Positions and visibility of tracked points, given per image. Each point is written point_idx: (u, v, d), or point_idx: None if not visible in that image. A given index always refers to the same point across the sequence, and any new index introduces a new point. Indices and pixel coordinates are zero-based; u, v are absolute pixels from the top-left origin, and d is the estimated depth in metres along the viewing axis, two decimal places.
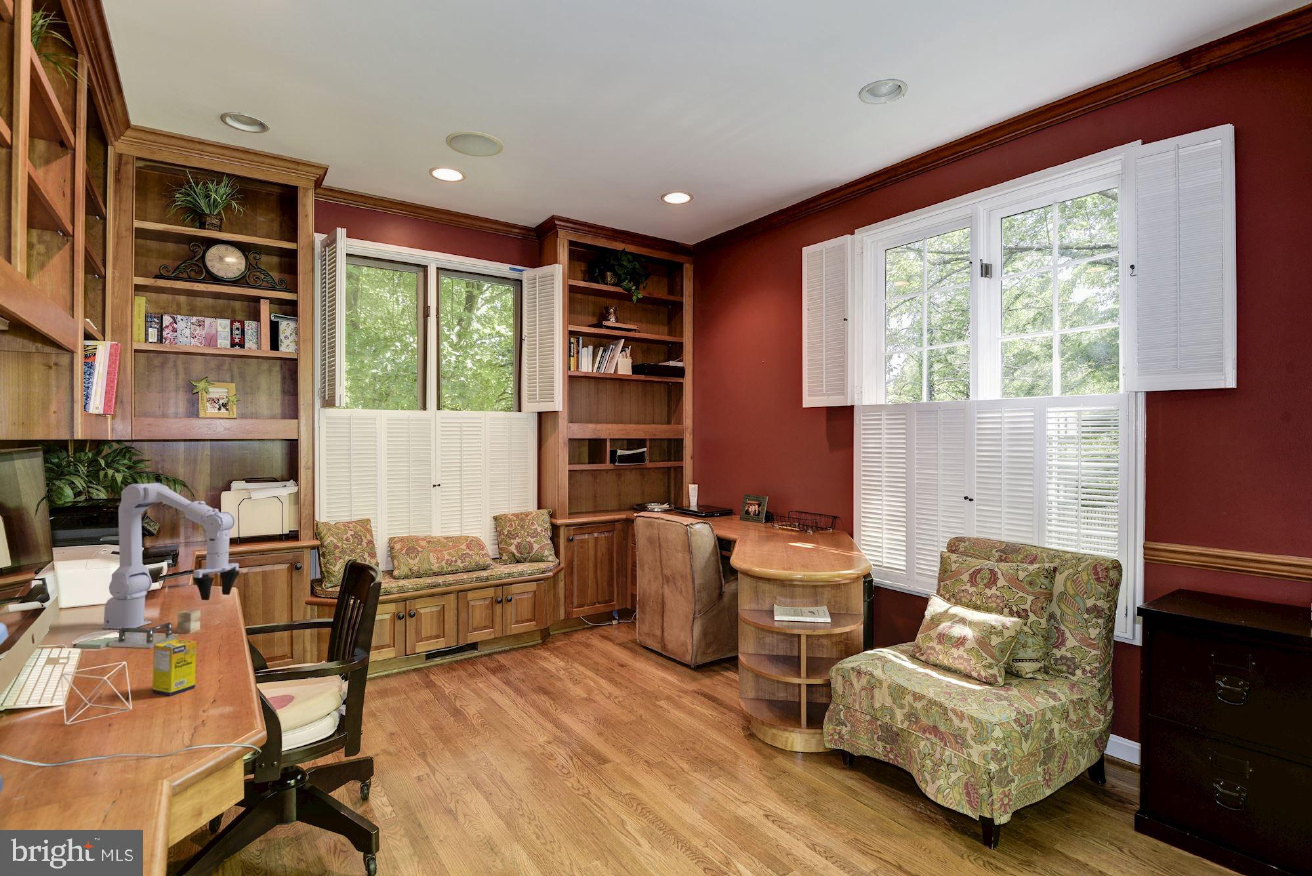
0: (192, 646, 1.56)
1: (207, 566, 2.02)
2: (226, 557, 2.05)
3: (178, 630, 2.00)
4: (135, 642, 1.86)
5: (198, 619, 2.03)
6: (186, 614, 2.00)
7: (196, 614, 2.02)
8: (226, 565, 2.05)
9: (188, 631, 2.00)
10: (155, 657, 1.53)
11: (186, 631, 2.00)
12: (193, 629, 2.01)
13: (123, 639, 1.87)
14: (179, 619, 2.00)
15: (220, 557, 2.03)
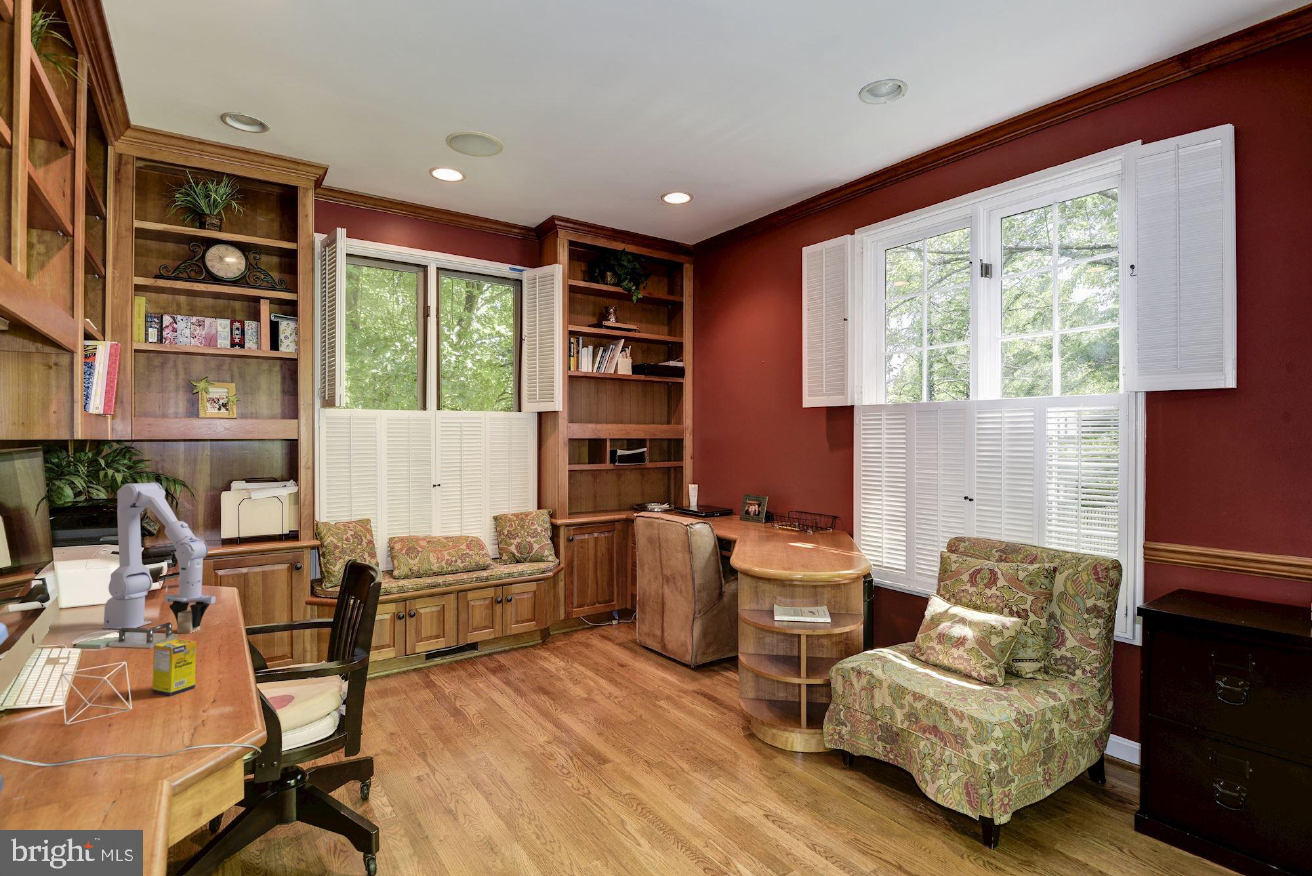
0: (192, 646, 1.56)
1: None
2: (184, 588, 2.00)
3: (178, 630, 2.00)
4: (135, 642, 1.86)
5: None
6: (186, 614, 2.00)
7: None
8: (185, 596, 2.00)
9: (188, 631, 2.00)
10: (155, 657, 1.53)
11: (186, 631, 2.00)
12: (193, 629, 2.01)
13: (123, 639, 1.87)
14: (179, 619, 2.00)
15: (179, 586, 2.00)
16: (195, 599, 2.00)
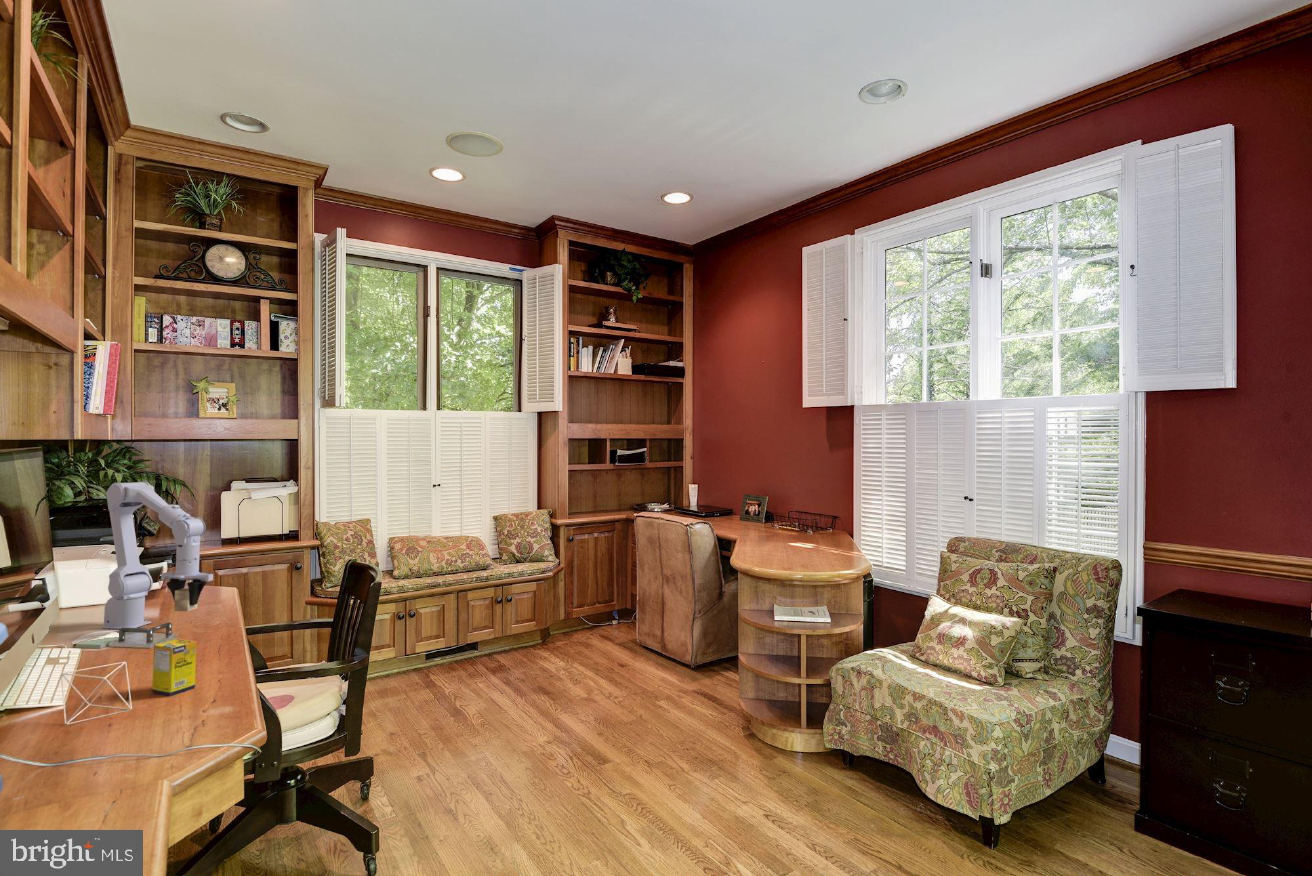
0: (192, 646, 1.56)
1: None
2: (182, 565, 1.98)
3: (175, 608, 1.99)
4: (135, 642, 1.86)
5: None
6: (183, 592, 1.99)
7: None
8: (182, 573, 1.98)
9: (185, 609, 1.99)
10: (155, 657, 1.53)
11: (183, 609, 1.99)
12: (190, 607, 2.00)
13: (123, 639, 1.87)
14: (176, 597, 1.99)
15: (177, 563, 1.99)
16: (192, 576, 1.99)
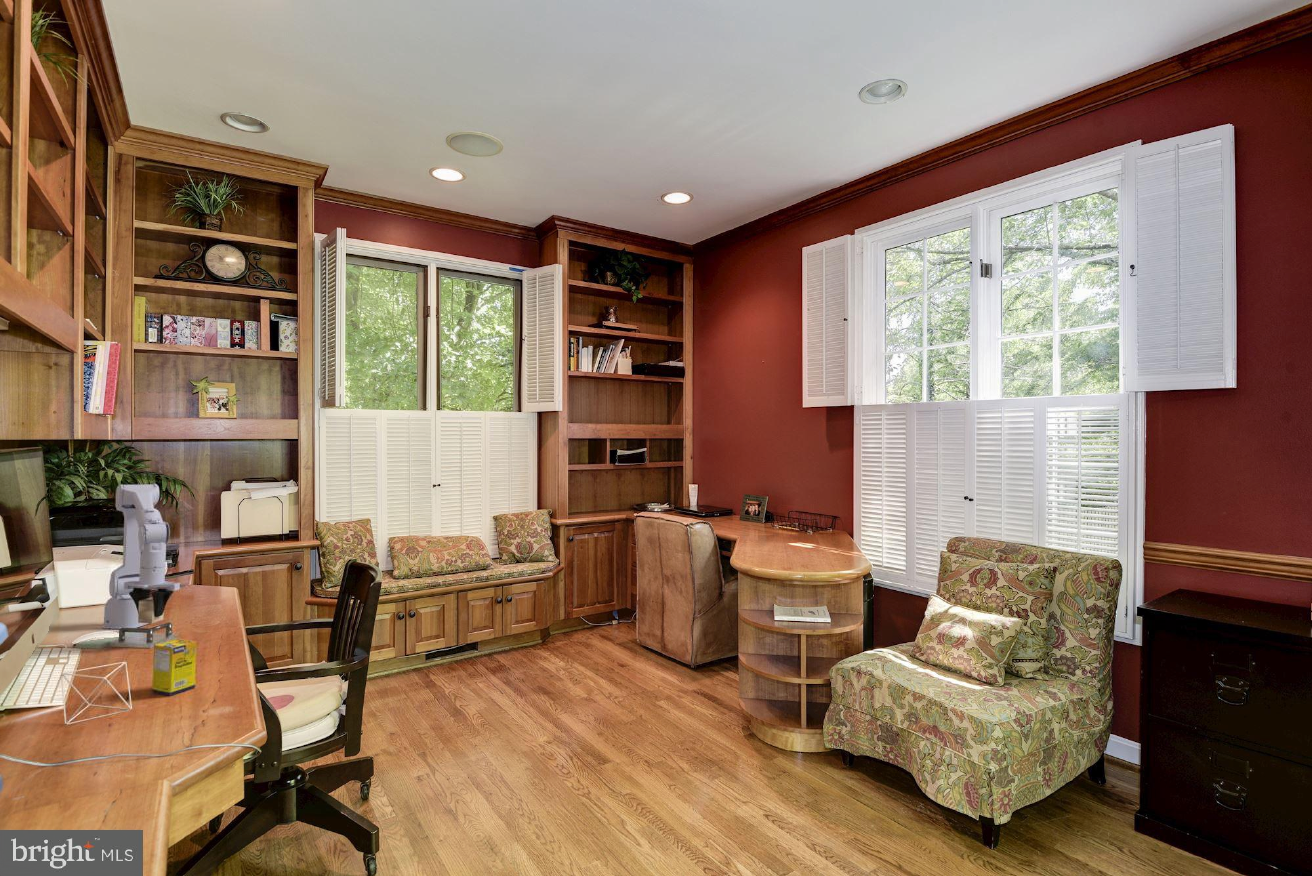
0: (192, 646, 1.56)
1: None
2: (145, 573, 1.85)
3: (139, 619, 1.85)
4: (135, 642, 1.86)
5: None
6: (148, 602, 1.85)
7: None
8: (146, 582, 1.85)
9: (150, 620, 1.85)
10: (155, 657, 1.53)
11: (147, 620, 1.85)
12: (155, 618, 1.87)
13: (123, 639, 1.87)
14: (140, 608, 1.85)
15: (140, 572, 1.85)
16: (157, 586, 1.85)
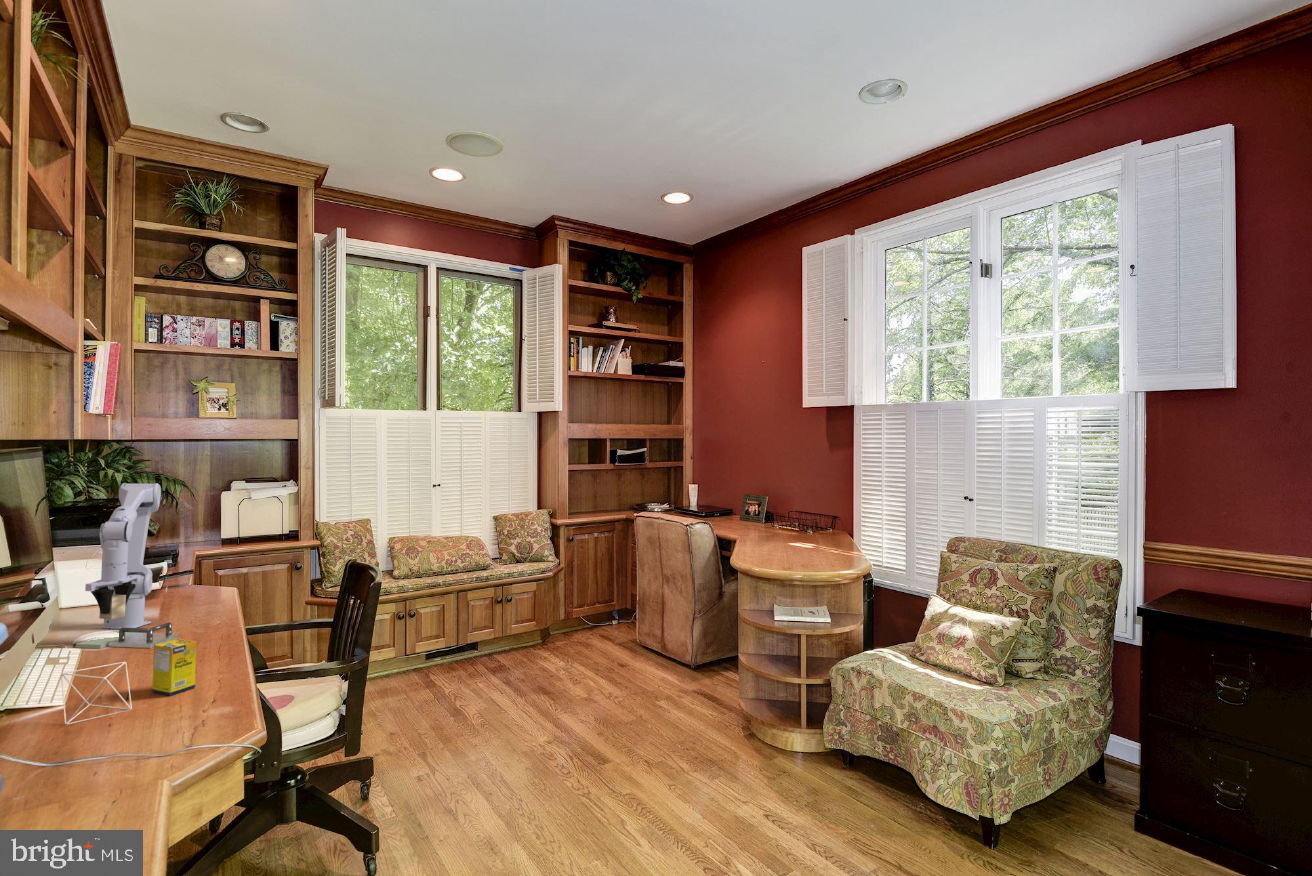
0: (192, 646, 1.56)
1: (102, 578, 1.88)
2: (124, 568, 1.90)
3: (112, 616, 1.88)
4: (135, 642, 1.86)
5: None
6: (121, 597, 1.91)
7: None
8: (124, 577, 1.91)
9: (122, 614, 1.91)
10: (155, 657, 1.53)
11: (120, 615, 1.91)
12: None
13: (123, 639, 1.87)
14: (113, 604, 1.89)
15: (117, 568, 1.89)
16: (130, 579, 1.93)
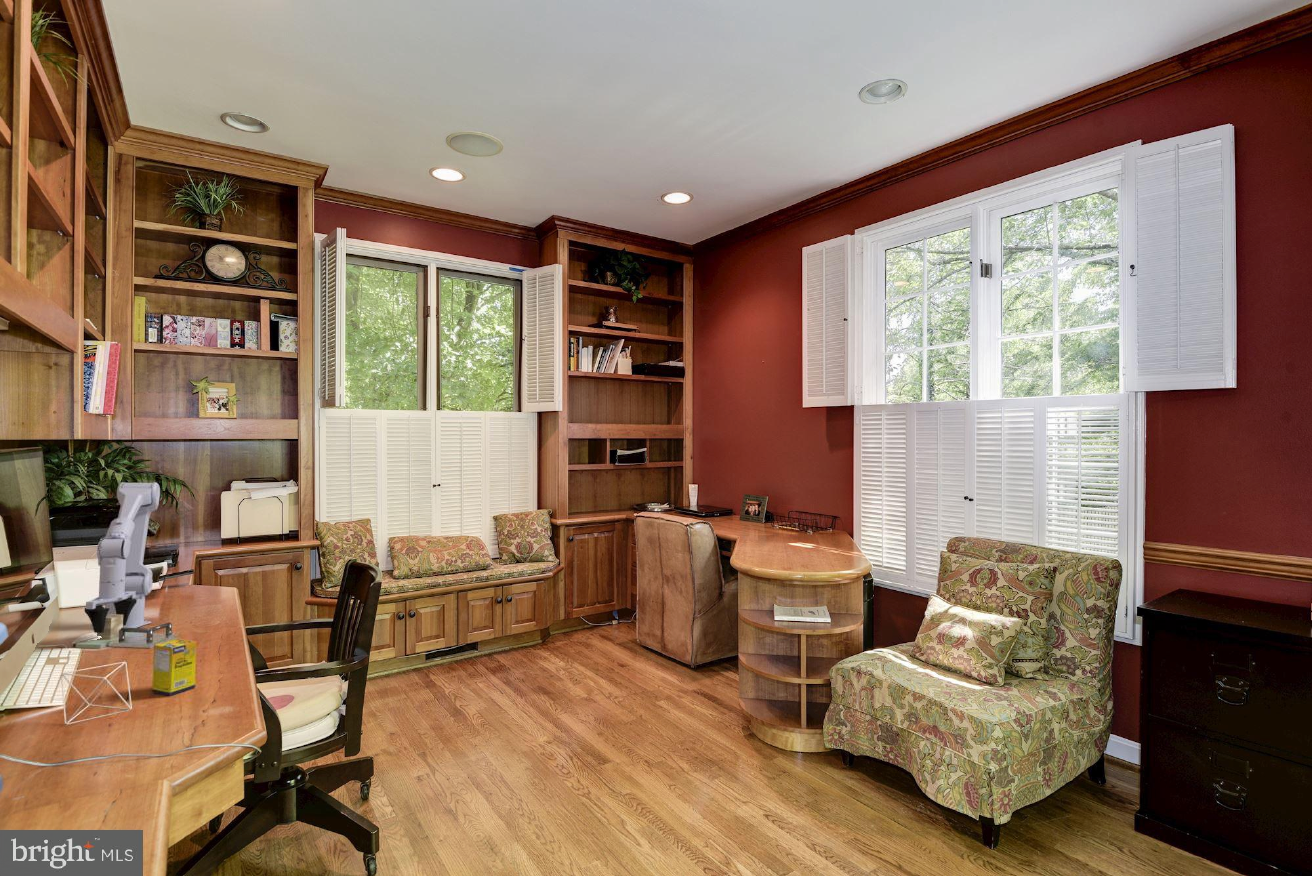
0: (192, 646, 1.56)
1: (100, 596, 1.88)
2: (122, 585, 1.91)
3: (111, 636, 1.89)
4: (135, 642, 1.86)
5: None
6: (119, 617, 1.91)
7: None
8: (122, 594, 1.91)
9: None
10: (155, 657, 1.53)
11: (118, 634, 1.91)
12: None
13: (123, 639, 1.87)
14: (112, 624, 1.89)
15: (116, 585, 1.89)
16: (127, 595, 1.94)
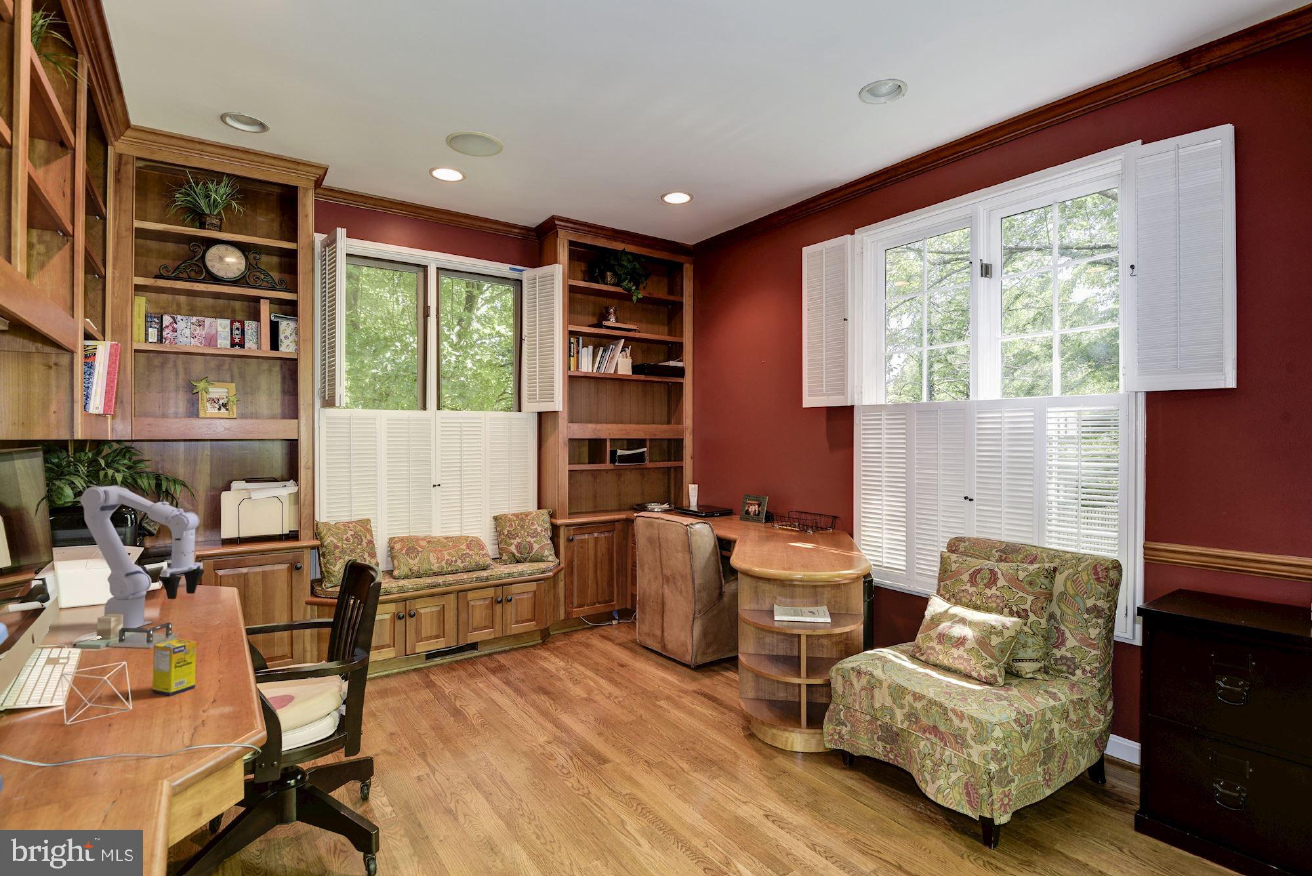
0: (192, 646, 1.56)
1: (173, 565, 2.04)
2: (192, 556, 2.07)
3: (111, 636, 1.89)
4: (135, 642, 1.86)
5: None
6: (119, 617, 1.91)
7: None
8: (192, 564, 2.07)
9: None
10: (155, 657, 1.53)
11: (118, 634, 1.91)
12: None
13: (123, 639, 1.87)
14: (112, 624, 1.89)
15: (187, 556, 2.05)
16: (196, 566, 2.10)
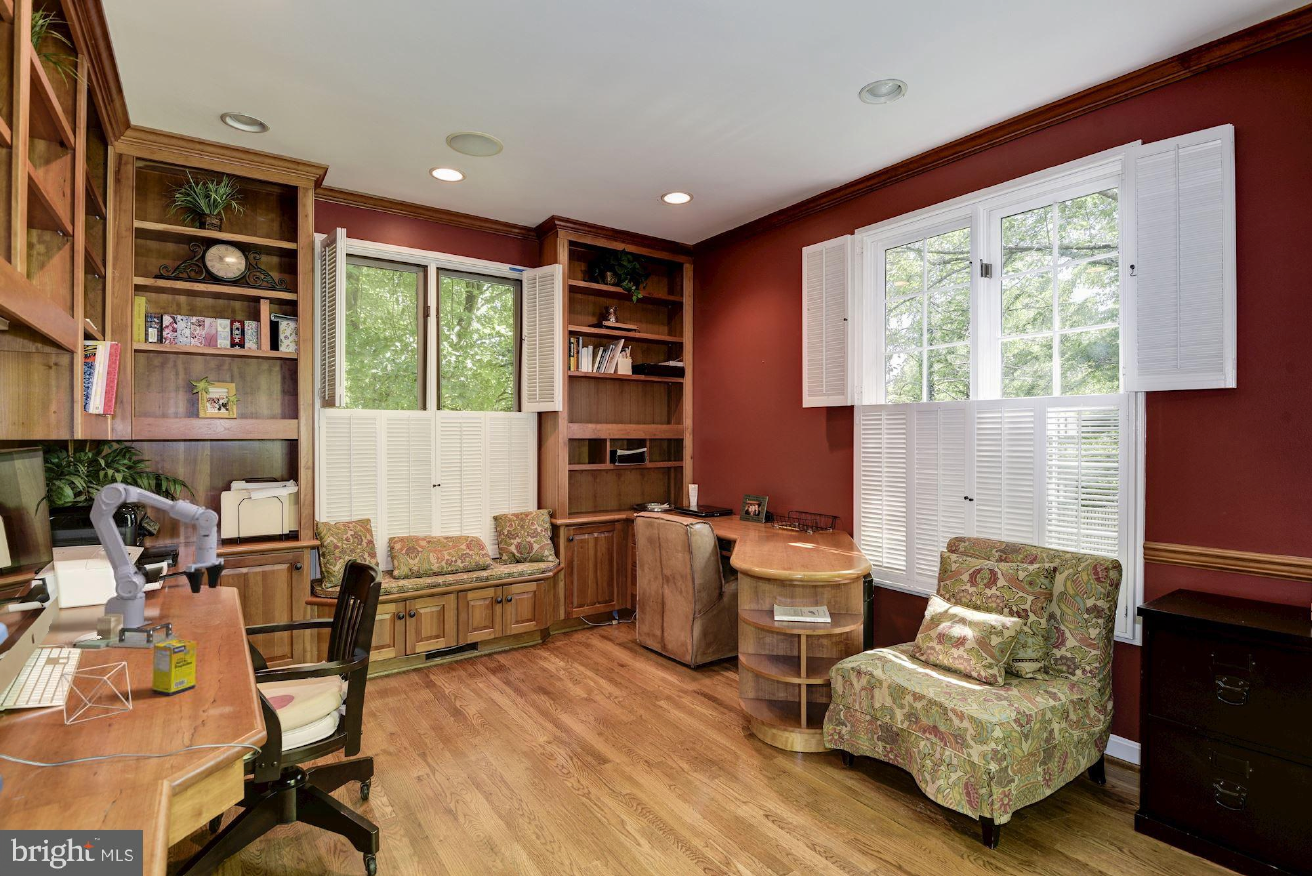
0: (192, 646, 1.56)
1: (197, 561, 2.13)
2: (215, 552, 2.16)
3: (111, 636, 1.89)
4: (135, 642, 1.86)
5: None
6: (119, 617, 1.91)
7: None
8: (215, 560, 2.16)
9: None
10: (155, 657, 1.53)
11: (118, 634, 1.91)
12: None
13: (123, 639, 1.87)
14: (112, 624, 1.89)
15: (210, 552, 2.14)
16: (218, 561, 2.19)
